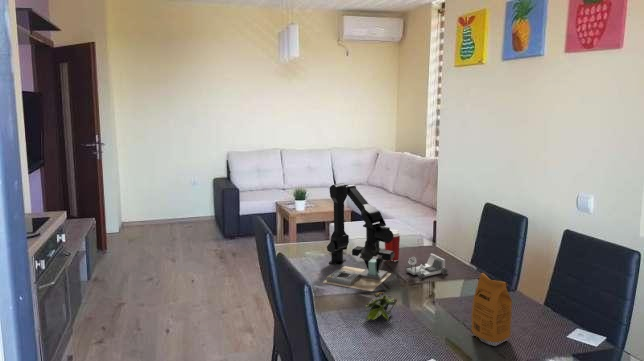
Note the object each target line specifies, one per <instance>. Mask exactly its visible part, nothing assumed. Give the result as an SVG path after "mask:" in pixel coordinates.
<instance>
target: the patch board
mask: <svg viewBox="0 0 644 361" xmlns="http://www.w3.org/2000/svg"><path fill="white" fill-rule="evenodd" d="M366 269H367V268H366ZM366 269H365V268H359V267H351V266H347V265H346V266H345V265H344V266H342V267H341V268H340V269H339V270H343V271H349V272H355V273H362V272H363V271H365V270H366ZM391 275H392V273H391V272H388V274H387V275H386V276H385V277H384V278H382V279H381V280H380V281H379V280H373V279H367V278H360V279H359V280H358V281H357V282H355V283H354V284H353V285H352V286H348V285H342V284H337V283H331V282H327V278H326V279H324V280H323V281H322V283H323V284H329V285H334V286H340V287H346V288H351V289H357V290H362V291H366V292H367V291H368V292H373V291H375V290H376V288H378V287H379V286H380V285H381V284H382V283H383V282H384V281H385V280H386V279H388V278H389V277H390V276H391ZM342 278H345V277H342Z"/></svg>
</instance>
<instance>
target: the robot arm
mask: <svg viewBox="0 0 644 361" xmlns="http://www.w3.org/2000/svg"><path fill="white" fill-rule="evenodd" d="M329 194H330V195H329V197H330V199H331V200H332V202H333V232H332V234H331V236H330V242H329V243H328V245H327V246H326V249H327V250H326V251H327V252H330V253H331V256H330V257H331V260H330V261H328V263H329V264H333V265H342V264H344V263H346V261H347V260H346V259H344V250H347V249H348V246H349V243H350V242H349V241H350V239H349V237H350V236H349V234H347V233H346V231H345V201H346V199H347V198H349V199H350V200H351V201H352V203H353V204H354V205H355V206H356V208H358V210H359V211H360V217H361V218H362V220H363V221H364V222H363V223H364V224H363V225H362V227H363V228H365V232H366V234H365V237H366V238H365V239H366V241H365V242H364V246H359V245H358V246H356V247H354V248H353V249H352V251H351V256H355V257H359V258H360V259H362V260H363V262H364V263H365V267H366V269H368V271H369V266H368V262H369V261H370V260H371V259H374V257H377V258H376V261H377V272H379V270H381V267H382V264H383V262H384V261H386V260H388V261H387V262H389V261H390V260H392V259H393V258H394V257H395V253H394V251H390V250H386V251H385V250H384V251H381V247H380V242H381V243H384V244H385V243H390V242H391V241H392V239H393V233H392V231H390V230H391V229H390V226H389V227H388V226H387V224H386V221H385V219H384V217H383V216H382V213H381V211H380V210H379V209H378V208H377V207H375V206H373V205H371V204H370V203H369V202H368V200H366V199H365V197H364V196H363V195H362V194H361V193H360V191H359V190H358V189H357V186H356V185H355V184H346V183H344V182H342V183H341V182H340V183H335V184H331V186H330V187H329ZM359 255H360V256H359Z"/></svg>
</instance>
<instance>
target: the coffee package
mask: <svg viewBox="0 0 644 361" xmlns="http://www.w3.org/2000/svg"><path fill="white" fill-rule="evenodd" d="M508 286H509V284H508V282H505V281H500V280H495V279H491V278H489V277H488V276H487V275H486V274H485V273H484V272H482V273H480V276H479V279H478V282H477V286H476V288H475V292H474V295H473V302H472V309H471V333H472V332H473V334H475V335H477V336H478V337H479V338H482V339H485V340H487V341H491V342H499V341H503V340H505V339H506V338H508V337H510V338H511V332H512V331H511V324H512V308H513V301H512V298H511V296H510V293H509V291H508V289H507V287H508Z"/></svg>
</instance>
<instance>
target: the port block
mask: <svg viewBox="0 0 644 361" xmlns="http://www.w3.org/2000/svg"><path fill="white" fill-rule="evenodd" d="M342 277H345V278H342ZM360 278H361V273H355V272H349V271H343V270H340V269H336V270H334V271H332V272H331V273H330V274H328V275H327V276H326V279H327V282H331V283H337V284H342V285H348V286H352V285H353V284H354V283H355V282H357V281H358V280H359V279H360Z"/></svg>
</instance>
